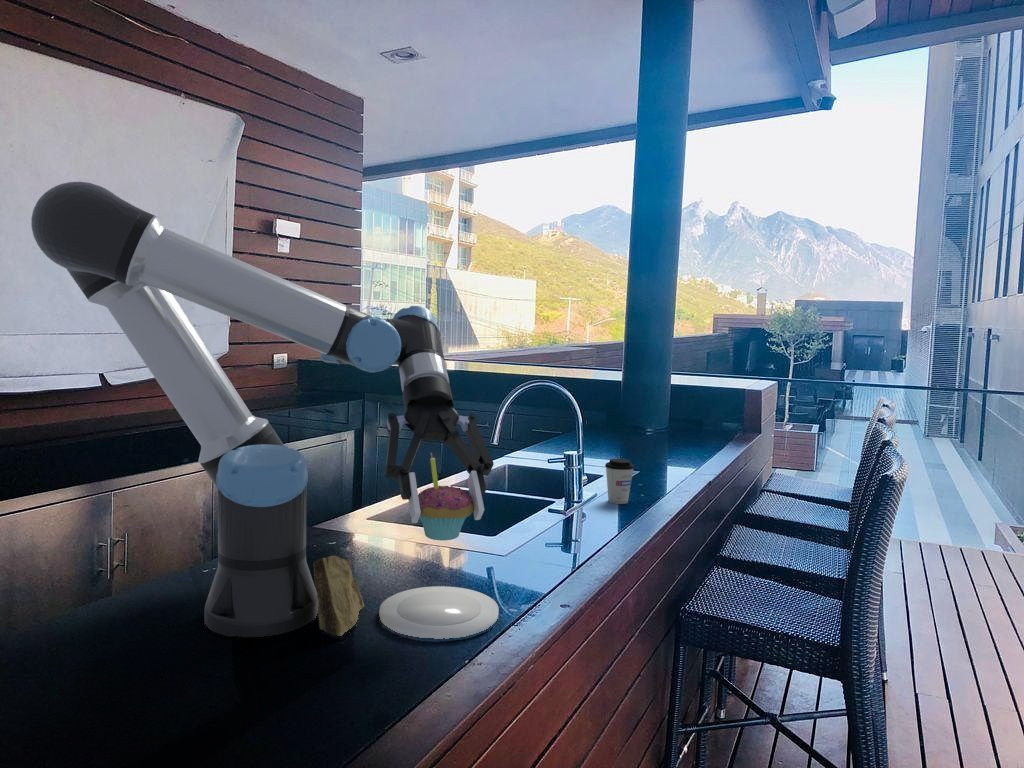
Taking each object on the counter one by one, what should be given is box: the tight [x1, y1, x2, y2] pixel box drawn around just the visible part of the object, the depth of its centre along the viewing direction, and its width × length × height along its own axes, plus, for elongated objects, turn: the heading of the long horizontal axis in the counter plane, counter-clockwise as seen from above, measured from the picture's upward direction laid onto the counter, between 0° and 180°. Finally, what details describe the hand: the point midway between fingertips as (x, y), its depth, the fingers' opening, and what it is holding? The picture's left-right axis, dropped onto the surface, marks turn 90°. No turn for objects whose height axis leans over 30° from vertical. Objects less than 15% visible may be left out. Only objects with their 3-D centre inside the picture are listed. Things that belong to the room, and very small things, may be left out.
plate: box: [378, 585, 500, 639], centre depth 105 cm, size 17×17×1 cm
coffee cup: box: [604, 458, 635, 505], centre depth 175 cm, size 7×7×10 cm
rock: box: [313, 555, 365, 636], centre depth 102 cm, size 11×9×10 cm
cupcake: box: [418, 452, 474, 541], centre depth 104 cm, size 9×8×12 cm
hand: (448, 516), depth 101 cm, fingers closed on cupcake, 8 cm apart
